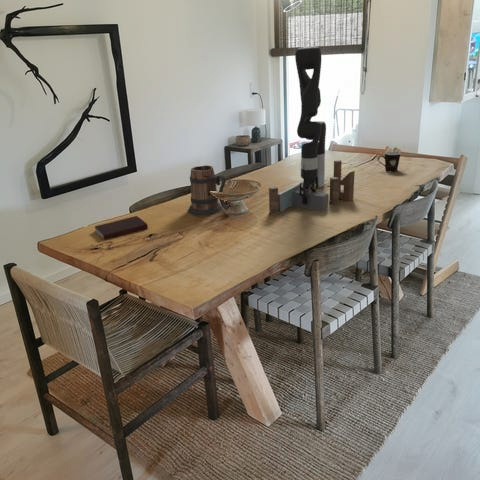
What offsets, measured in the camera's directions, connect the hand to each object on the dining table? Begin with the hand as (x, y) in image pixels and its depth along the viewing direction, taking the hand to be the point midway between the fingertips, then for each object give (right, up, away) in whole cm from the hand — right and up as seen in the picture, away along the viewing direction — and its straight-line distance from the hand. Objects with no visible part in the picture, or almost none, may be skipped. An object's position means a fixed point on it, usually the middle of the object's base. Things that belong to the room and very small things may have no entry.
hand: (308, 201), depth 218 cm
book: (-82, -14, -15) cm, 85 cm away
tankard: (-45, -4, +3) cm, 46 cm away
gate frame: (-2, -3, 0) cm, 3 cm away
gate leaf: (-7, 0, +5) cm, 9 cm away
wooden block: (+18, +2, +10) cm, 21 cm away
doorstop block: (+1, -3, +1) cm, 3 cm away
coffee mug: (+54, +22, +54) cm, 79 cm away
